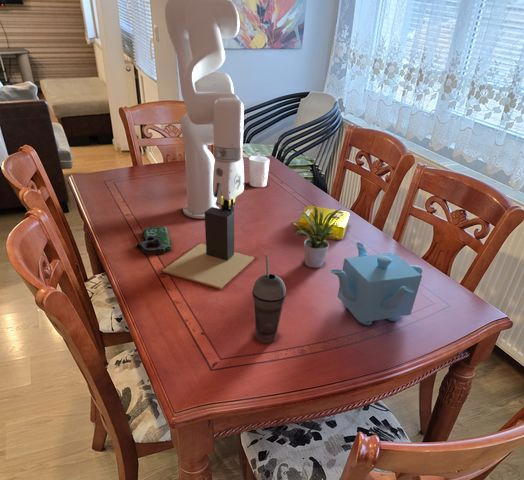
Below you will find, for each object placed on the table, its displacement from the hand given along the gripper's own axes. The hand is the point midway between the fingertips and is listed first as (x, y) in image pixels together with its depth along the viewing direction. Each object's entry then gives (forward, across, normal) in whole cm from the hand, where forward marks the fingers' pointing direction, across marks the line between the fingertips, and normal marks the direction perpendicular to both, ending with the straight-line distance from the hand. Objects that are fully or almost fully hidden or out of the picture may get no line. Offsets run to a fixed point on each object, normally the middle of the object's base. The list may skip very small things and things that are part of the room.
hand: (227, 220), depth 132 cm
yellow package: (+10, +32, -19) cm, 39 cm away
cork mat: (+10, -10, 0) cm, 14 cm away
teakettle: (+10, -11, -46) cm, 48 cm away
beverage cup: (+10, -33, -28) cm, 44 cm away
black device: (+9, -4, 0) cm, 10 cm away
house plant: (+10, +8, -25) cm, 28 cm away
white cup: (+10, +59, +18) cm, 63 cm away
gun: (+10, -6, +22) cm, 25 cm away
